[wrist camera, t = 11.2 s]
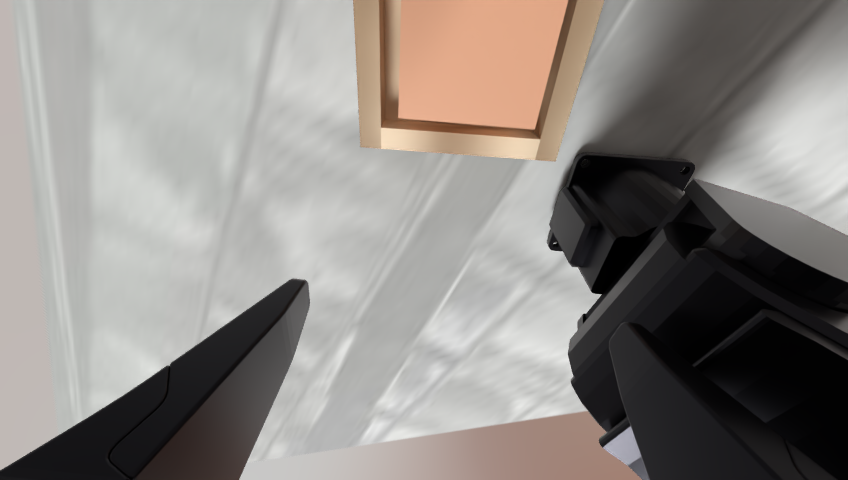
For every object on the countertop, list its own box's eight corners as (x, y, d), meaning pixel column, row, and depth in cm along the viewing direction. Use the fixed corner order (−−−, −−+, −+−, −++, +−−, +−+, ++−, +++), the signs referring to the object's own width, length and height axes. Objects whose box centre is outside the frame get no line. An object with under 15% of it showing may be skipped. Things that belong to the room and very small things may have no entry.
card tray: (642, -211, 11) (680, -253, 9) (544, 146, 18) (555, 161, 16) (355, -232, 11) (339, -279, 9) (368, 134, 18) (360, 146, 16)
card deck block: (517, 108, 16) (534, 129, 13) (405, 99, 16) (398, 117, 13) (570, -131, 11) (614, -179, 9) (414, -144, 11) (406, -198, 9)
